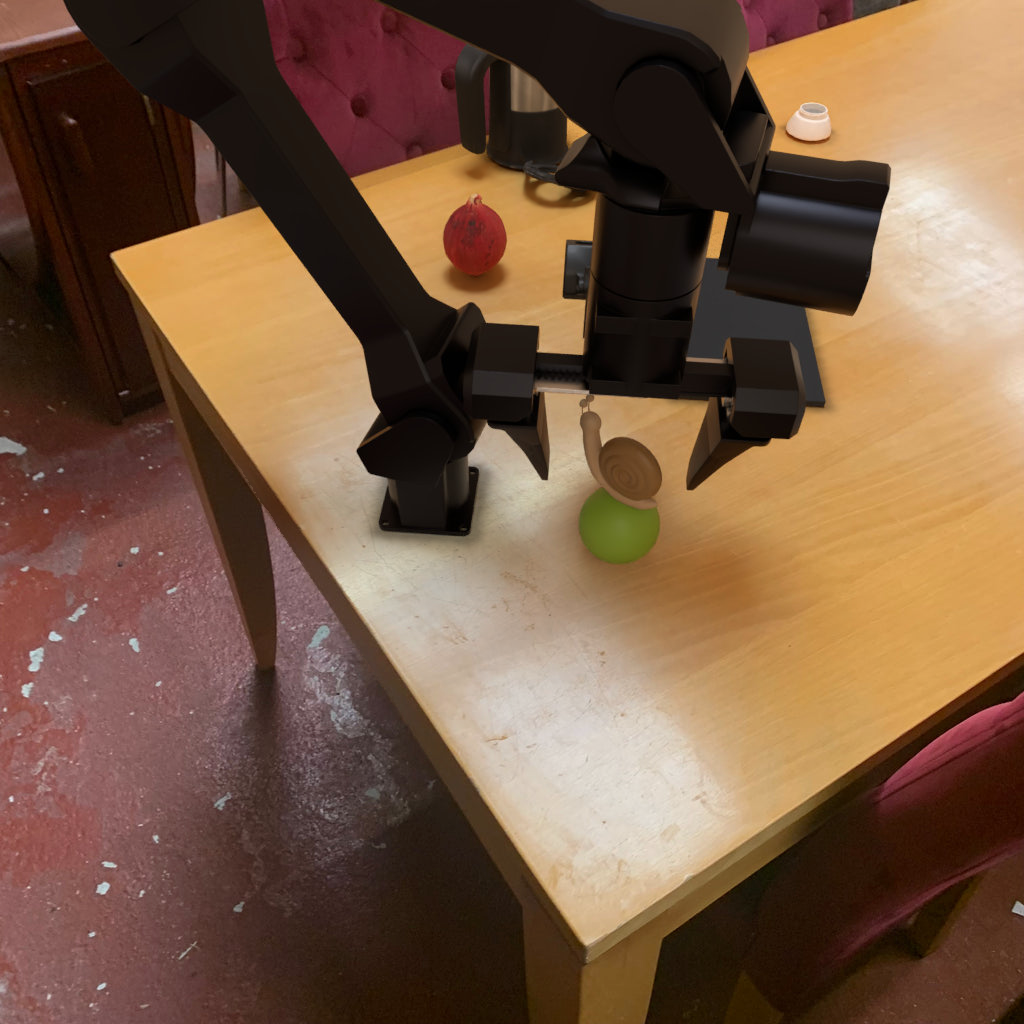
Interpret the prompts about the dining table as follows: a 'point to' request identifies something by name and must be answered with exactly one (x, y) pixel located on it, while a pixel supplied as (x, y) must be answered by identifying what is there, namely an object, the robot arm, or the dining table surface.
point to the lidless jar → (810, 122)
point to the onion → (474, 237)
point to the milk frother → (509, 116)
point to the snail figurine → (618, 495)
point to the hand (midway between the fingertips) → (617, 480)
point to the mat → (750, 327)
